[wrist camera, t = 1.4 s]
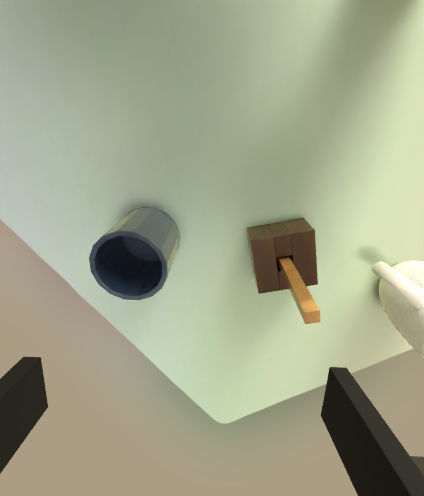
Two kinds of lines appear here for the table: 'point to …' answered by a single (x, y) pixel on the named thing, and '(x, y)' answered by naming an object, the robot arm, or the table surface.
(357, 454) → the robot arm
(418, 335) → the mug
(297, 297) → the stir stick
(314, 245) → the stick holder
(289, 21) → the table surface
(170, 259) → the cup
